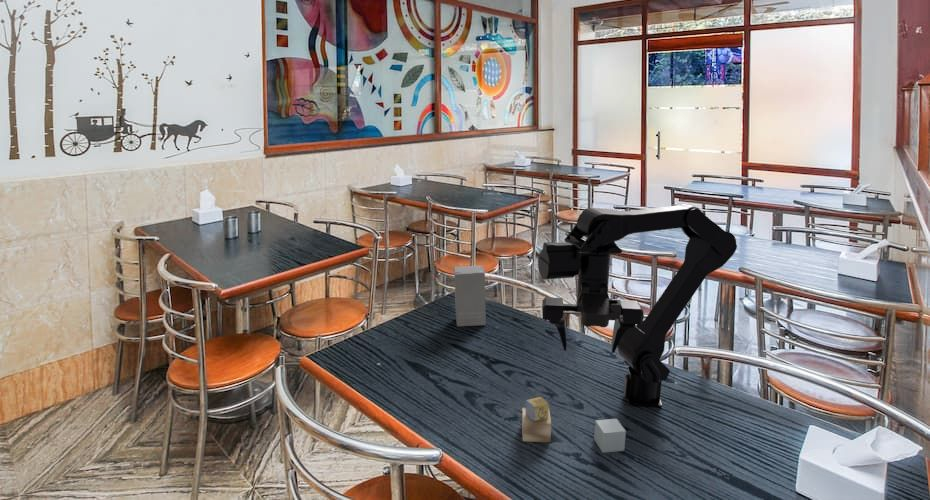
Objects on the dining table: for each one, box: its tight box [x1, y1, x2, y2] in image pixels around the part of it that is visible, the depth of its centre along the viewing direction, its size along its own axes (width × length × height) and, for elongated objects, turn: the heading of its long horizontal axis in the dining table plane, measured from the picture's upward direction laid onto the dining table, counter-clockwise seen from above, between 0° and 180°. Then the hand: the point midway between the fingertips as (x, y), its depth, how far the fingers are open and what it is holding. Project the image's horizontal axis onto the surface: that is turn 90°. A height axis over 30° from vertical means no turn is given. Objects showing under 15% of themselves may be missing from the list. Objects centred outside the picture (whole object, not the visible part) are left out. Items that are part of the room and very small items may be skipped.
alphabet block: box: [525, 396, 550, 421], centre depth 101 cm, size 3×3×3 cm
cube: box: [593, 418, 627, 454], centre depth 98 cm, size 4×4×4 cm
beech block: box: [521, 407, 552, 443], centre depth 102 cm, size 5×5×4 cm
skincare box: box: [453, 265, 487, 327], centre depth 151 cm, size 8×7×16 cm
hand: (588, 351), depth 108 cm, fingers open, 9 cm apart
